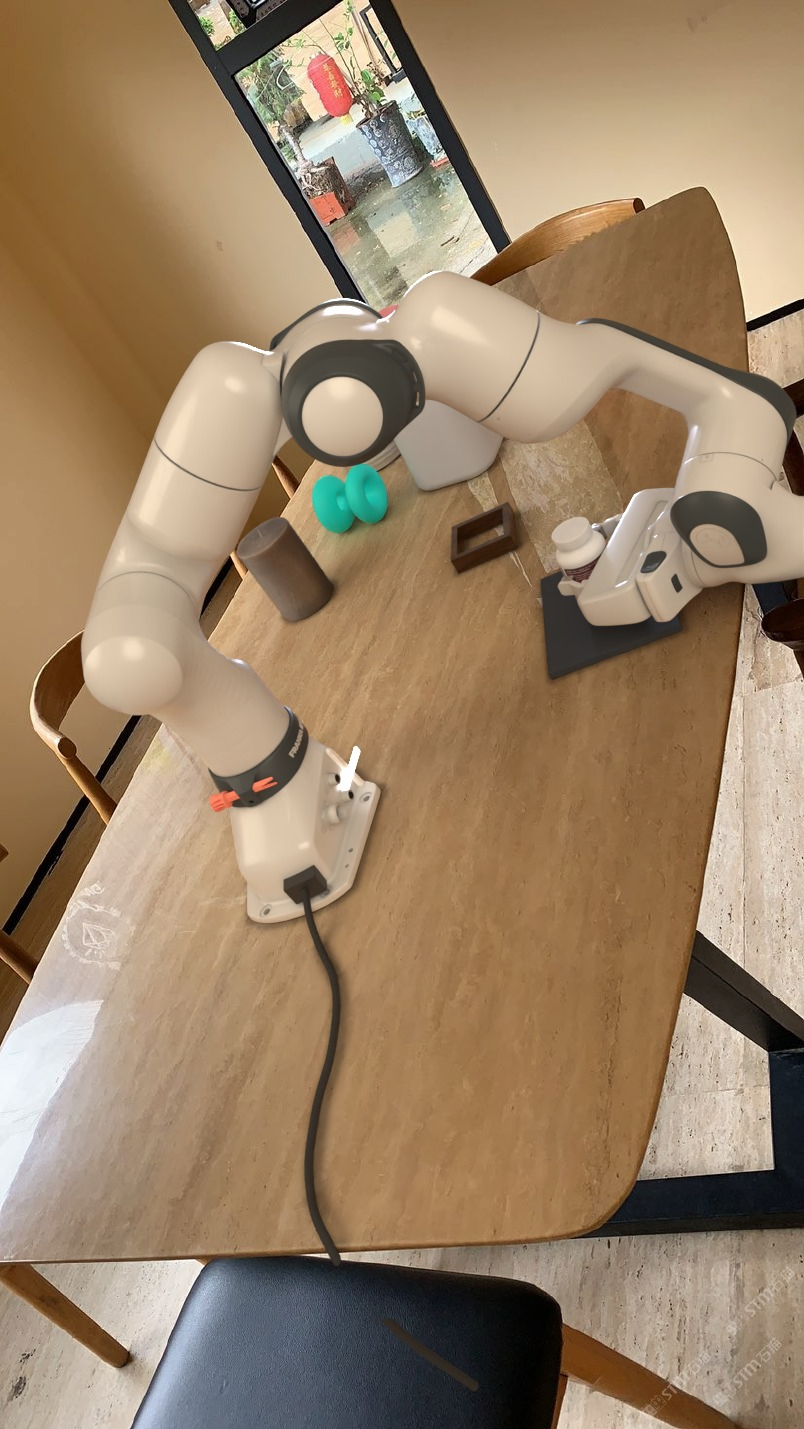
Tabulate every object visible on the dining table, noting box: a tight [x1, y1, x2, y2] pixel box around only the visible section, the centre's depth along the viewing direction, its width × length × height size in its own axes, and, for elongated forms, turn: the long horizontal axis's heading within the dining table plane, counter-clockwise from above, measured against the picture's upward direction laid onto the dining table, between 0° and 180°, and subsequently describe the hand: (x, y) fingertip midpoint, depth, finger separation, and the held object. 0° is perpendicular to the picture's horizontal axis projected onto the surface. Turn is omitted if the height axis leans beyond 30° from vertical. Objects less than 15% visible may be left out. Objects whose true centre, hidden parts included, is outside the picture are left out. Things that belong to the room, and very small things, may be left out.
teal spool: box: [311, 464, 389, 534], centre depth 176 cm, size 10×10×10 cm
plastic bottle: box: [377, 303, 505, 492], centre depth 168 cm, size 15×15×28 cm
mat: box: [539, 570, 684, 680], centre depth 127 cm, size 20×16×1 cm
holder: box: [450, 501, 518, 575], centre depth 152 cm, size 9×9×2 cm
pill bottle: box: [550, 516, 608, 599], centre depth 124 cm, size 6×6×11 cm
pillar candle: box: [235, 516, 335, 622], centre depth 164 cm, size 10×10×15 cm
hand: (576, 559), depth 124 cm, fingers open, 8 cm apart
